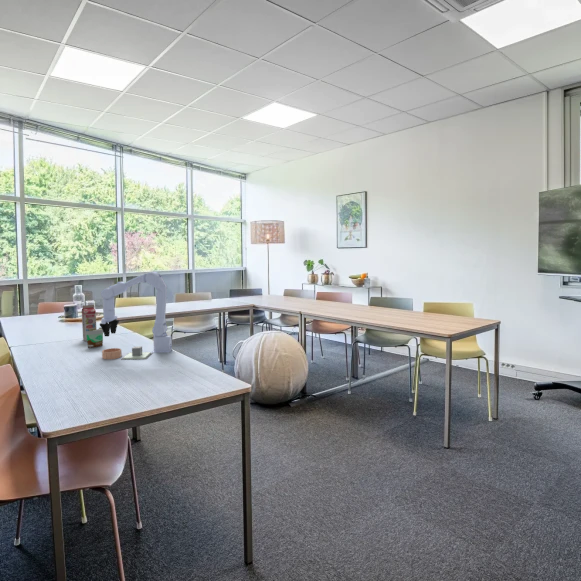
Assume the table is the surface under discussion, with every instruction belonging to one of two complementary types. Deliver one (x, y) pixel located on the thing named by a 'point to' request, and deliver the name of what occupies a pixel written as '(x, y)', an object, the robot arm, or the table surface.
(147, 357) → the mat
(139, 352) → the sheet lid
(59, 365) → the table surface
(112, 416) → the table surface
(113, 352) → the tan bowl
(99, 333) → the food container
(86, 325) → the juice carton
